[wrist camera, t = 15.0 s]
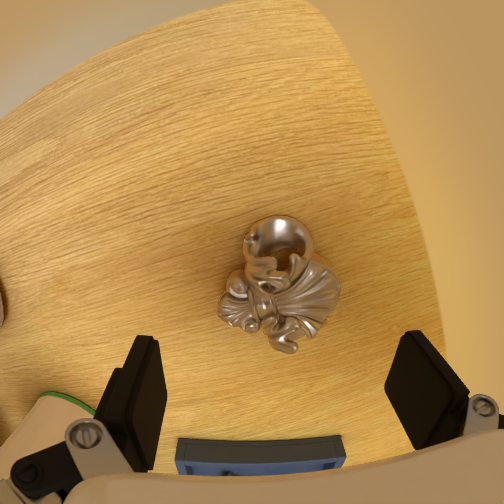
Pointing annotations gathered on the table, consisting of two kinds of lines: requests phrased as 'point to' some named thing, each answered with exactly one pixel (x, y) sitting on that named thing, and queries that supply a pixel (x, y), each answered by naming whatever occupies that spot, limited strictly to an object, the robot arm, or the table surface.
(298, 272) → the ornament
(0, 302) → the can
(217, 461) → the blue tray
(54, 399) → the cup
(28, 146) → the table surface
